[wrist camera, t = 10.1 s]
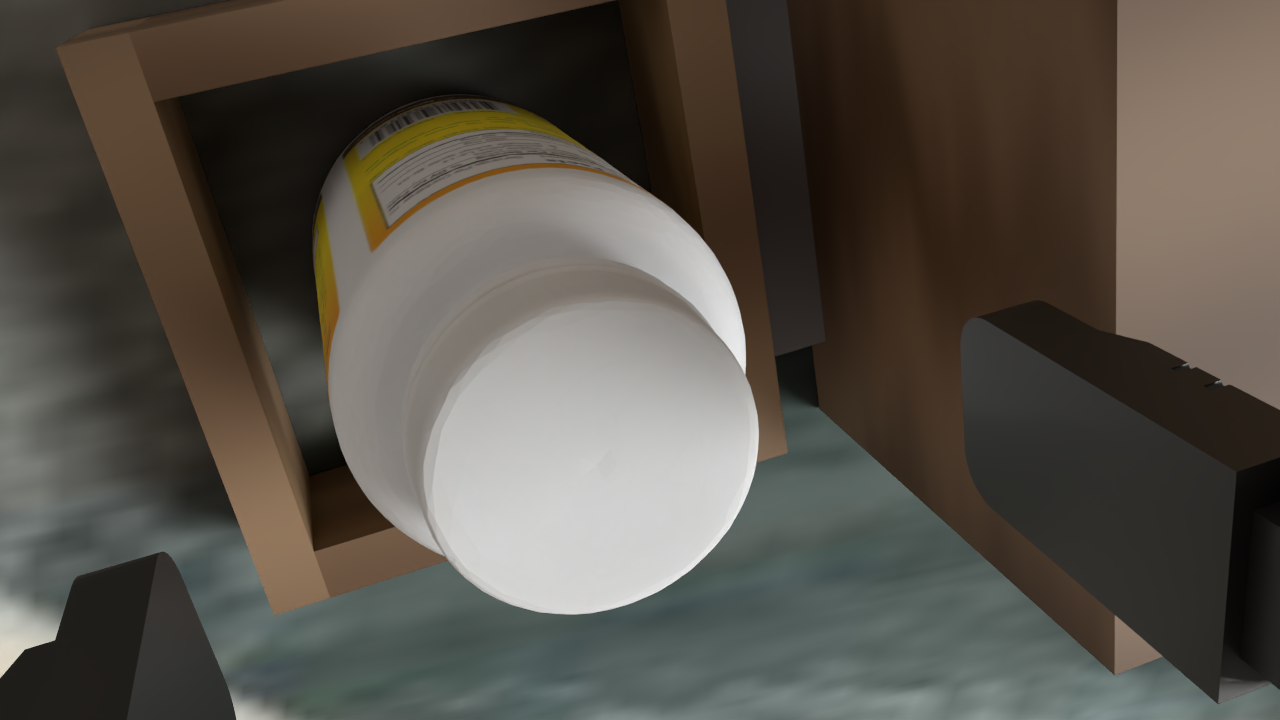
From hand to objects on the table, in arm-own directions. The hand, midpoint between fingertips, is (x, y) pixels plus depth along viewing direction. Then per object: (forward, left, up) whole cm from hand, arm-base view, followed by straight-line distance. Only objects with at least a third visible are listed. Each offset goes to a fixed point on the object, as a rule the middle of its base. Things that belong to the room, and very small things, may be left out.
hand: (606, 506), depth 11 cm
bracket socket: (0, +3, -11) cm, 12 cm away
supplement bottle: (0, 0, -12) cm, 12 cm away
